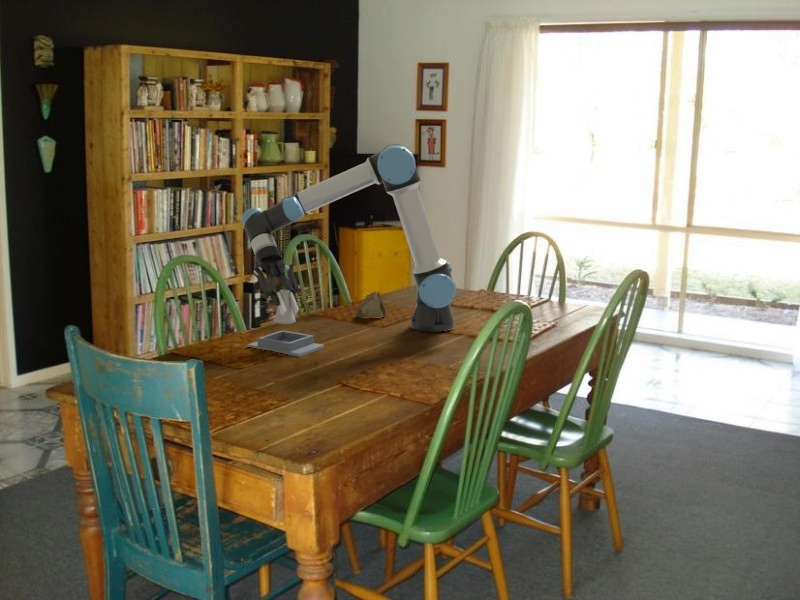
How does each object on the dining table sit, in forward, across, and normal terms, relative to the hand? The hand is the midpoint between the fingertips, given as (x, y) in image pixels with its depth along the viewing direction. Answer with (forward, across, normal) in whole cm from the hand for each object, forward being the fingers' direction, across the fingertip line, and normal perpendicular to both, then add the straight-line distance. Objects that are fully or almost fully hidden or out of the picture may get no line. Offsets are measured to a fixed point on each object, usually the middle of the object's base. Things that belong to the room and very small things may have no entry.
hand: (290, 312), depth 281 cm
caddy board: (+6, 0, -11) cm, 13 cm away
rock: (-11, -46, -28) cm, 55 cm away
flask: (0, 0, -6) cm, 6 cm away
